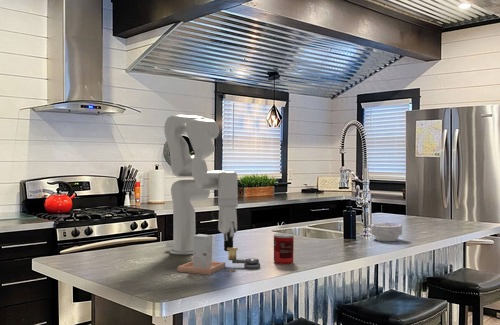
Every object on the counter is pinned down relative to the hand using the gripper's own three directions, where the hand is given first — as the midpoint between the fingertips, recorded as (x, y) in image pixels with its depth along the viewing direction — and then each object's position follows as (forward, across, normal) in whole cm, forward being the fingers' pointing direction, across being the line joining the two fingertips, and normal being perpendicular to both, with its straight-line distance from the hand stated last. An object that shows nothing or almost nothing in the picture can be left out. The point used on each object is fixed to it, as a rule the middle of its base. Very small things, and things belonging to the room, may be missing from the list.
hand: (228, 250), depth 196 cm
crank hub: (+6, +8, +7) cm, 12 cm away
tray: (+5, +4, -12) cm, 14 cm away
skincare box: (+5, +4, -12) cm, 13 cm away
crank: (+4, +6, +4) cm, 8 cm away
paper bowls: (+6, -28, +92) cm, 96 cm away
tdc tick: (+6, +12, -3) cm, 13 cm away
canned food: (+6, +4, +21) cm, 22 cm away
